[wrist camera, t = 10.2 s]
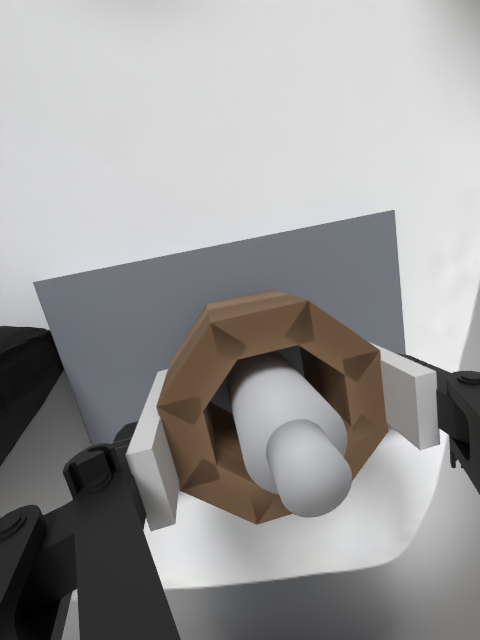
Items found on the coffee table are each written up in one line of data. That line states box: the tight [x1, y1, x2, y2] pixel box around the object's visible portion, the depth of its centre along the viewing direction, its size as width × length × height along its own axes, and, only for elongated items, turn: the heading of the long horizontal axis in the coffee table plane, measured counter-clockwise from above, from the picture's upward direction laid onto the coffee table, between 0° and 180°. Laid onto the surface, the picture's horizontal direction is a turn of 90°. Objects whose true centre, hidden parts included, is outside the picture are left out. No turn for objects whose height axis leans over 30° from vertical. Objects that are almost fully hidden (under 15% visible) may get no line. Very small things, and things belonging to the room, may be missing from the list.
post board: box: [33, 210, 406, 517], centre depth 12 cm, size 20×14×11 cm
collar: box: [156, 290, 388, 524], centre depth 13 cm, size 8×8×5 cm
